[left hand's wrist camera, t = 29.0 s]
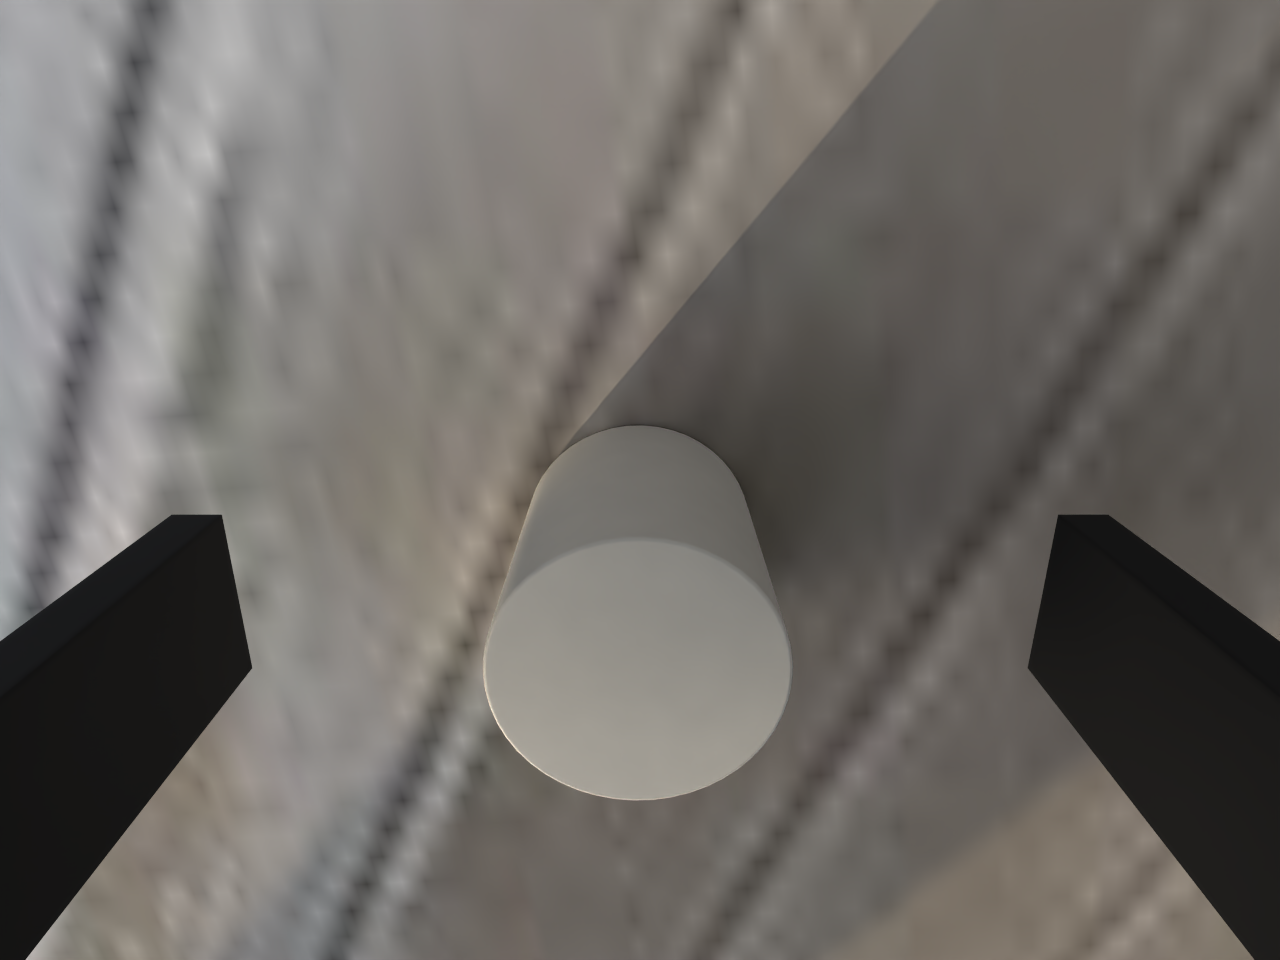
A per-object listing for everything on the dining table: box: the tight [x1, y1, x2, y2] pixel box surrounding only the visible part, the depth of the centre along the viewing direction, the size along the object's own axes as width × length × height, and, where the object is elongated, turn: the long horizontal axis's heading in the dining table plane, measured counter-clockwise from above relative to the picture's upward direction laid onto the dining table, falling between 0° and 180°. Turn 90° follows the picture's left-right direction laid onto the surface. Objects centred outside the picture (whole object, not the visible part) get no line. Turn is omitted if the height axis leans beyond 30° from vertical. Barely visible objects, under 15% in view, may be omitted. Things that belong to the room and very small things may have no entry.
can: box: [483, 425, 793, 800], centre depth 13 cm, size 4×4×5 cm
